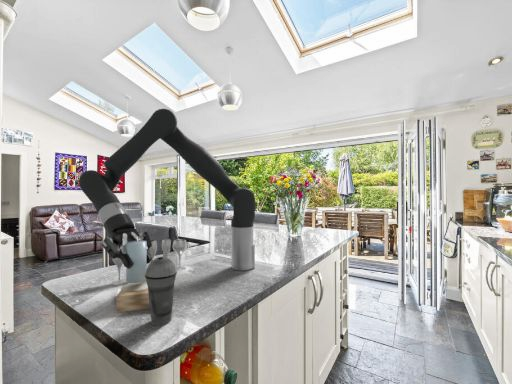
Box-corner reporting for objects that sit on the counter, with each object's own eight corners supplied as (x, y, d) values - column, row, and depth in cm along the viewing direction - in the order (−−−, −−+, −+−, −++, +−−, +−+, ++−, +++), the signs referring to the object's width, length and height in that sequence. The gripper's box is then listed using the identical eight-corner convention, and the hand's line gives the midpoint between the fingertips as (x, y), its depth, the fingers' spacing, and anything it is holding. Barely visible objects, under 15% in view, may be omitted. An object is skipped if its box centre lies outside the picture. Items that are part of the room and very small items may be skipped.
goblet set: (114, 286, 85) (113, 247, 85) (109, 282, 90) (109, 244, 90) (189, 269, 104) (189, 237, 104) (183, 266, 108) (183, 235, 108)
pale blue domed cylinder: (148, 276, 77) (148, 240, 77) (145, 282, 72) (144, 243, 72) (128, 277, 76) (128, 240, 76) (124, 283, 70) (123, 244, 70)
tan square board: (168, 288, 83) (168, 274, 83) (164, 306, 70) (164, 290, 70) (129, 292, 80) (129, 277, 80) (116, 312, 67) (116, 295, 67)
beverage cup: (151, 314, 65) (150, 237, 65) (180, 313, 66) (179, 236, 66) (140, 329, 58) (140, 242, 58) (172, 328, 58) (172, 242, 58)
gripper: (96, 214, 71) (121, 262, 65) (142, 210, 84) (167, 251, 78) (87, 231, 74) (110, 279, 68) (132, 225, 86) (155, 265, 80)
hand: (140, 264), depth 73 cm, fingers closed on pale blue domed cylinder, 5 cm apart
